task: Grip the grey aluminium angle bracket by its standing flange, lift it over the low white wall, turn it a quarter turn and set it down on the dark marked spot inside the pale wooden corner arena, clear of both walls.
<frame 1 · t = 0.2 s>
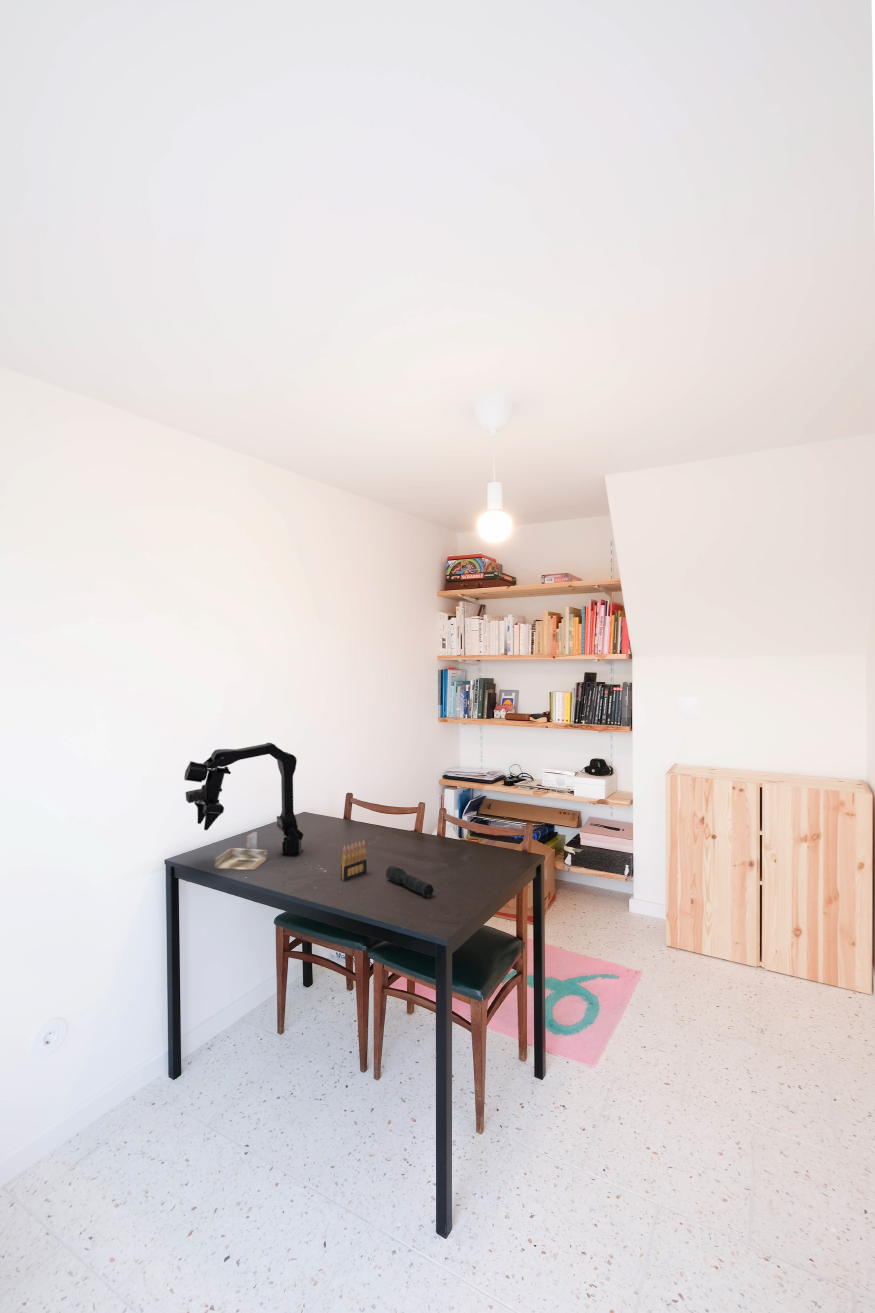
hand: (202, 826, 213), 15 cm above the table, tool pointing down, fingers open, 9 cm apart
corner arena: (241, 863, 219), on the table
ammunition clip: (353, 877, 208), on the table
bracket: (245, 854, 229), on the table
flashlight: (409, 889, 198), on the table
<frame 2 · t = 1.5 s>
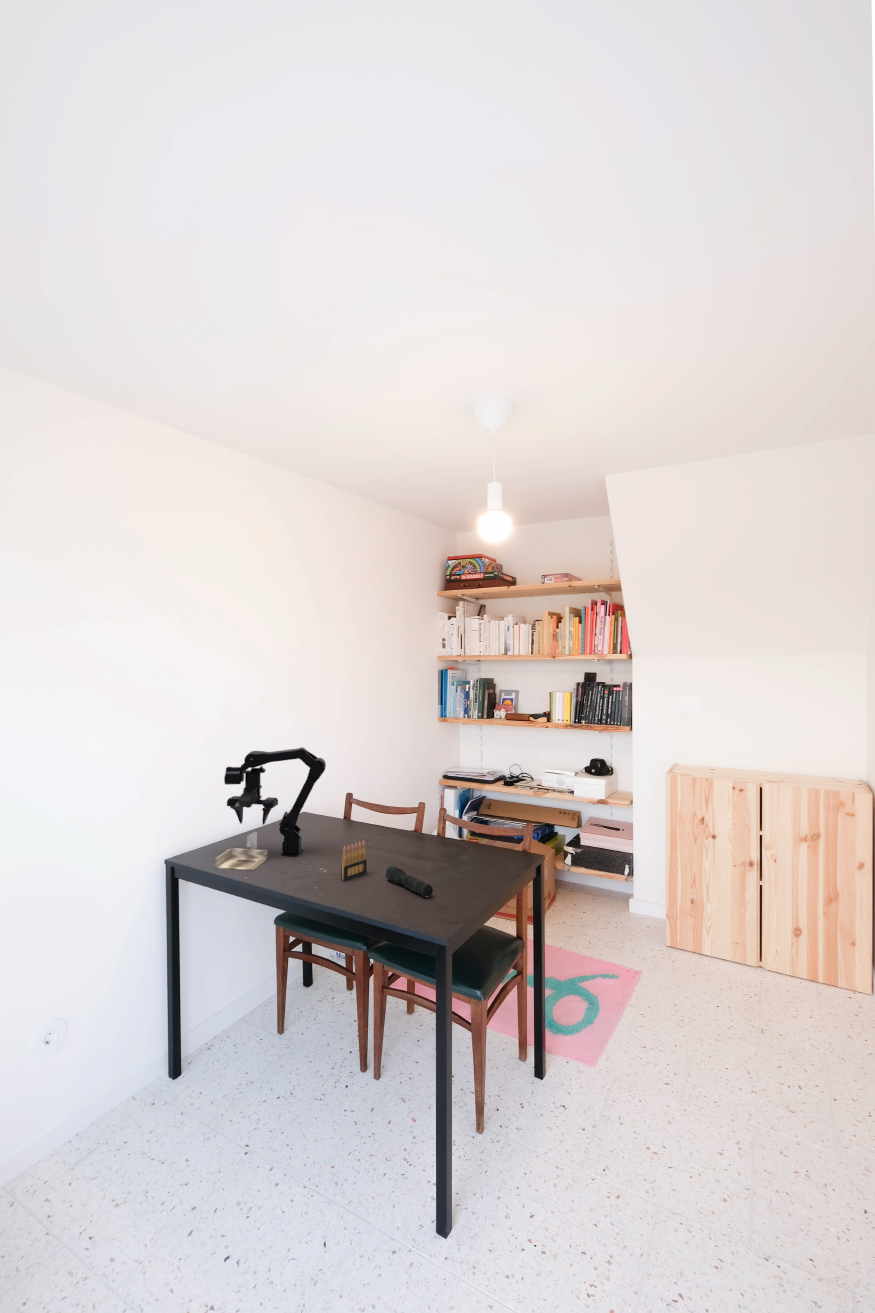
hand: (252, 824, 229), 12 cm above the table, tool pointing down, fingers open, 9 cm apart
nothing on the table moved.
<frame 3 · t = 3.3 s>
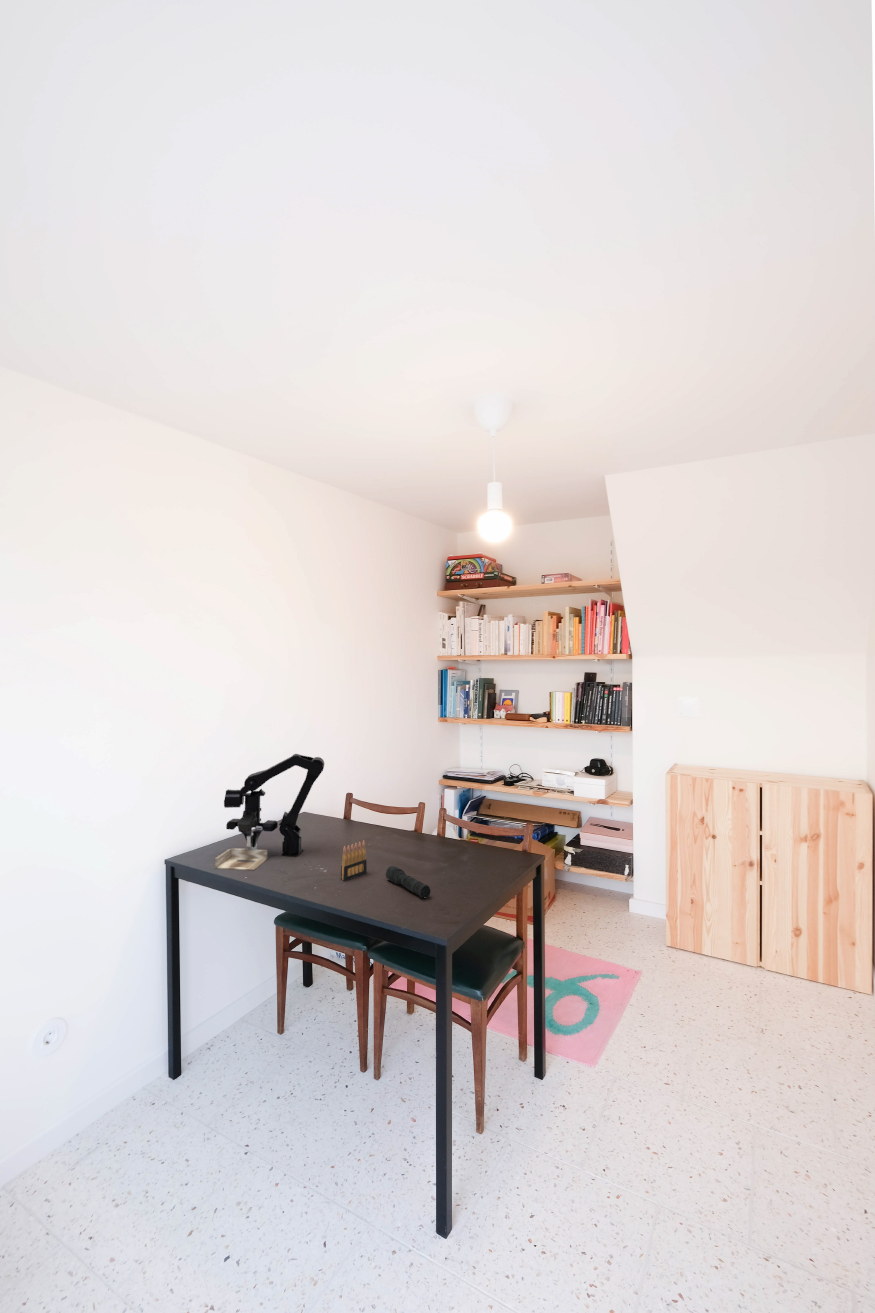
hand: (251, 847, 229), 3 cm above the table, tool pointing down, fingers closed on bracket
bracket: (245, 854, 229), on the table, touching gripper
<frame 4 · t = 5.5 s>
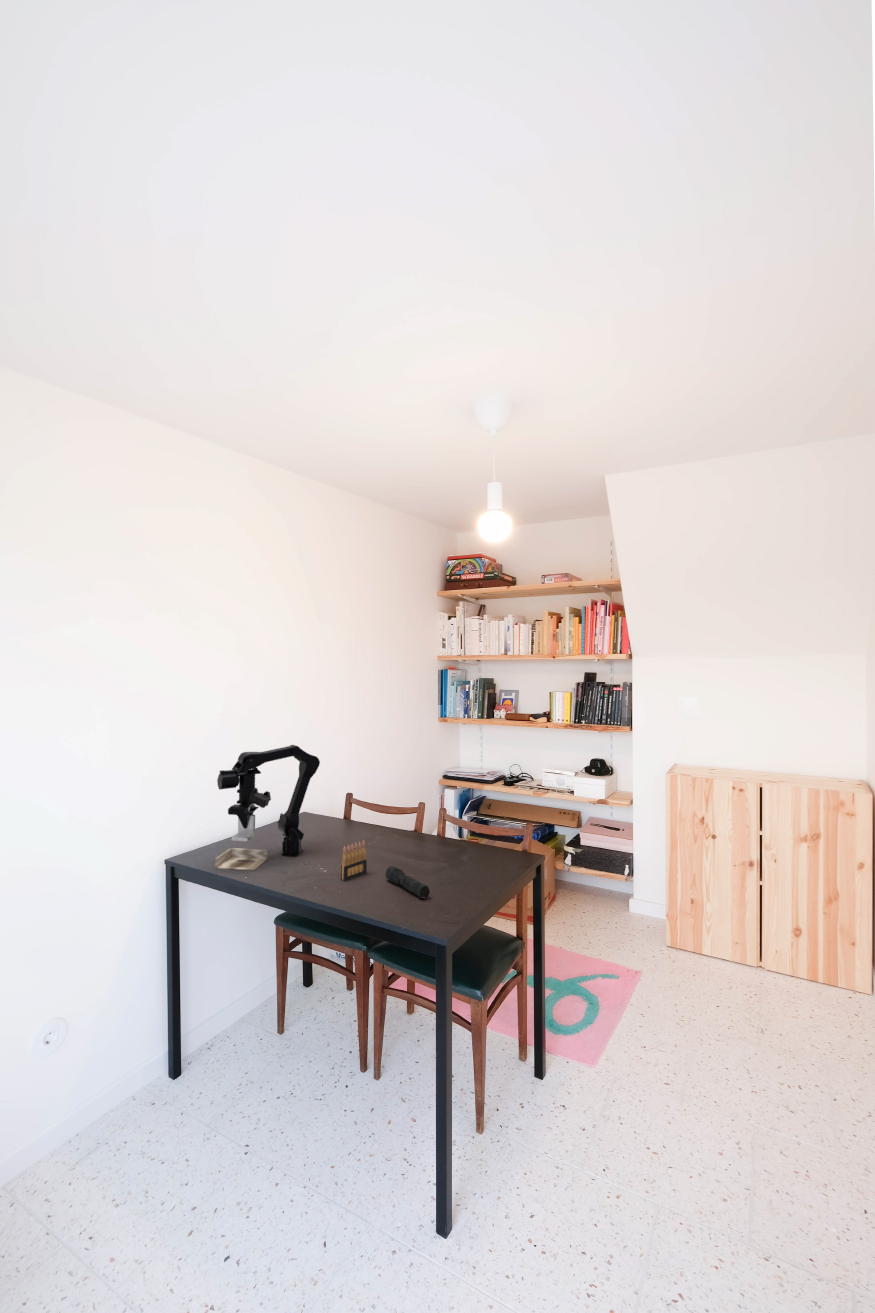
hand: (246, 827, 220), 13 cm above the table, tool pointing down, fingers closed on bracket
bracket: (243, 838, 218), point 10 cm above the table, touching gripper
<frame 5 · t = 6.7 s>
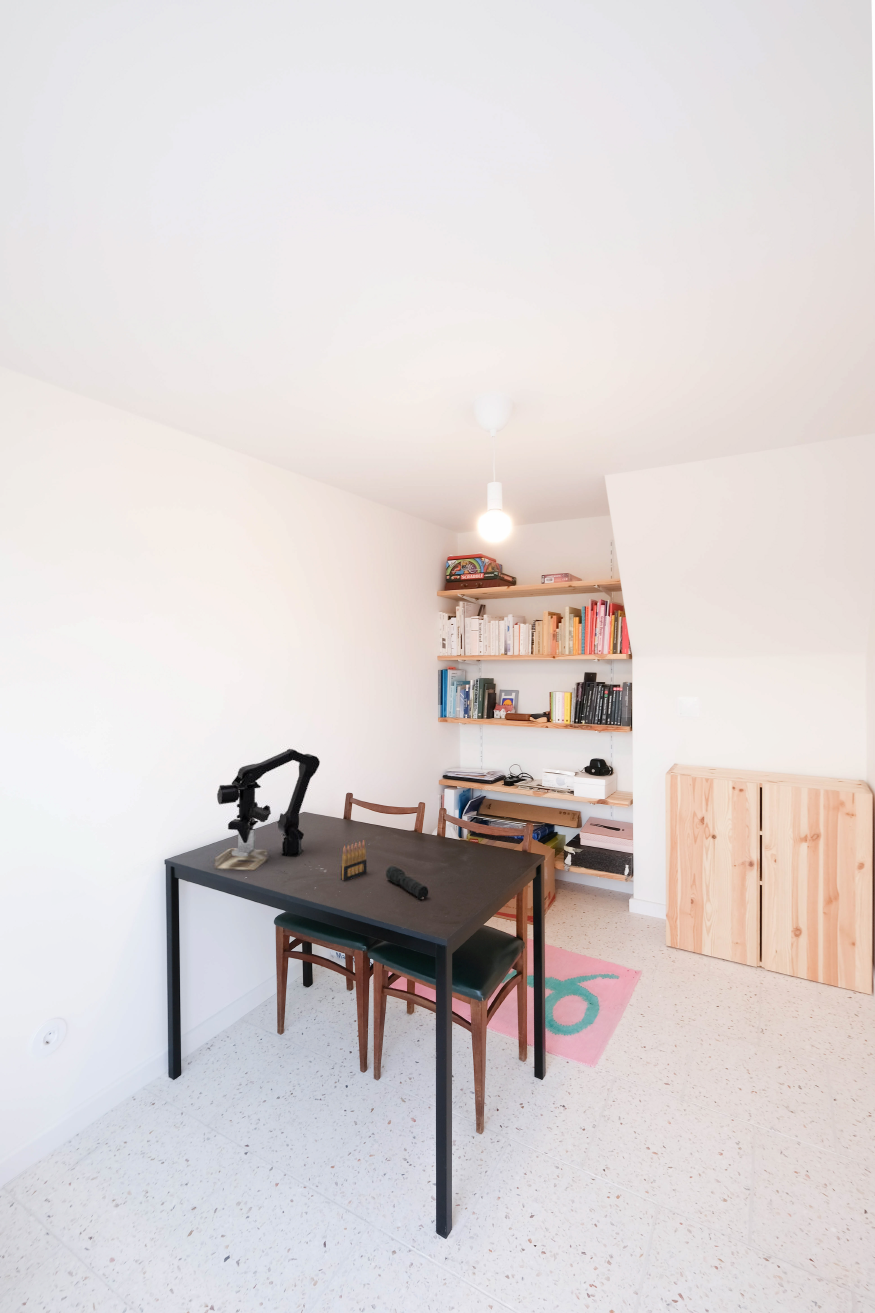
hand: (246, 842, 220), 8 cm above the table, tool pointing down, fingers closed on bracket
bracket: (243, 852, 218), point 4 cm above the table, touching gripper
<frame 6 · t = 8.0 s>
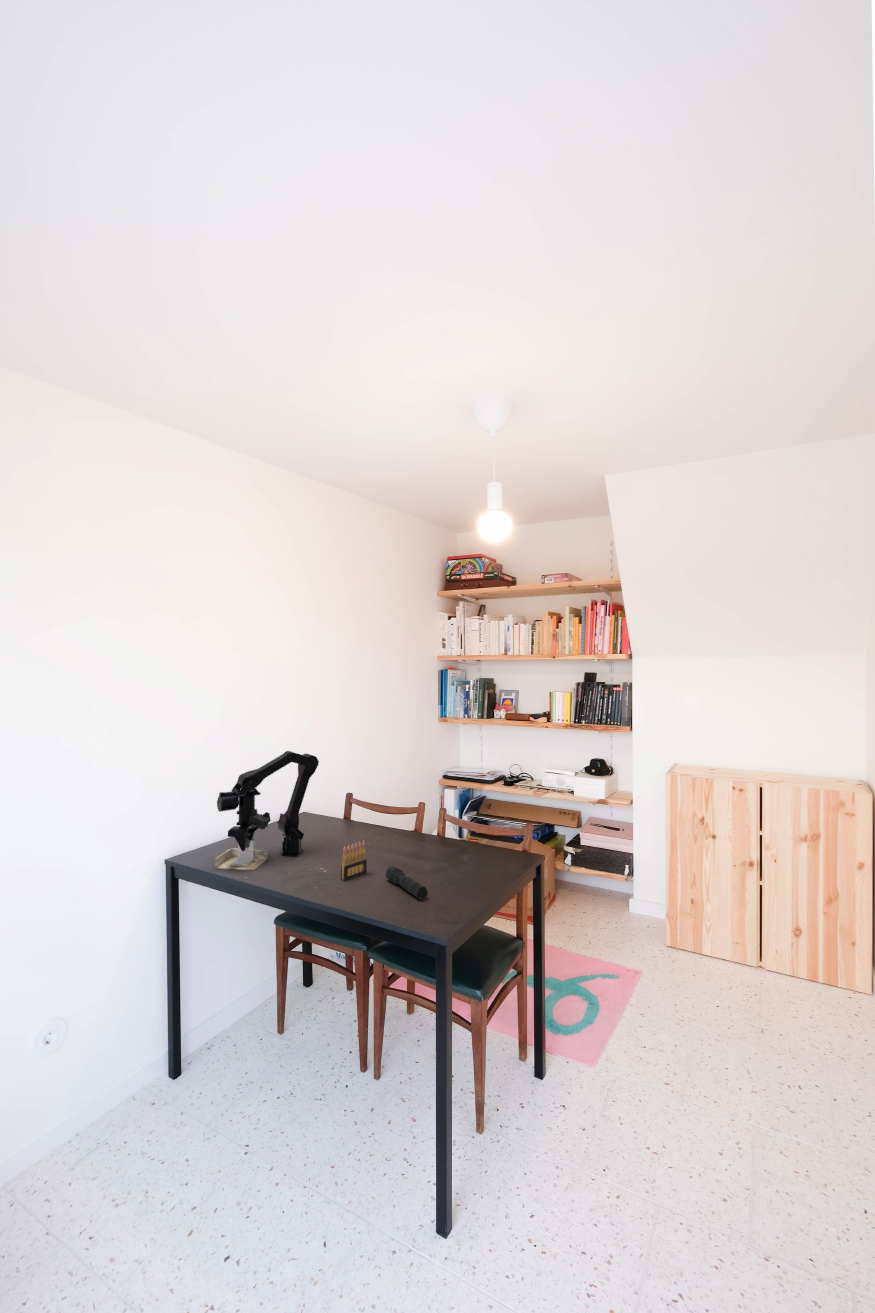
hand: (246, 849, 220), 5 cm above the table, tool pointing down, fingers open, 4 cm apart
bracket: (243, 863, 218), point 1 cm above the table, touching corner arena
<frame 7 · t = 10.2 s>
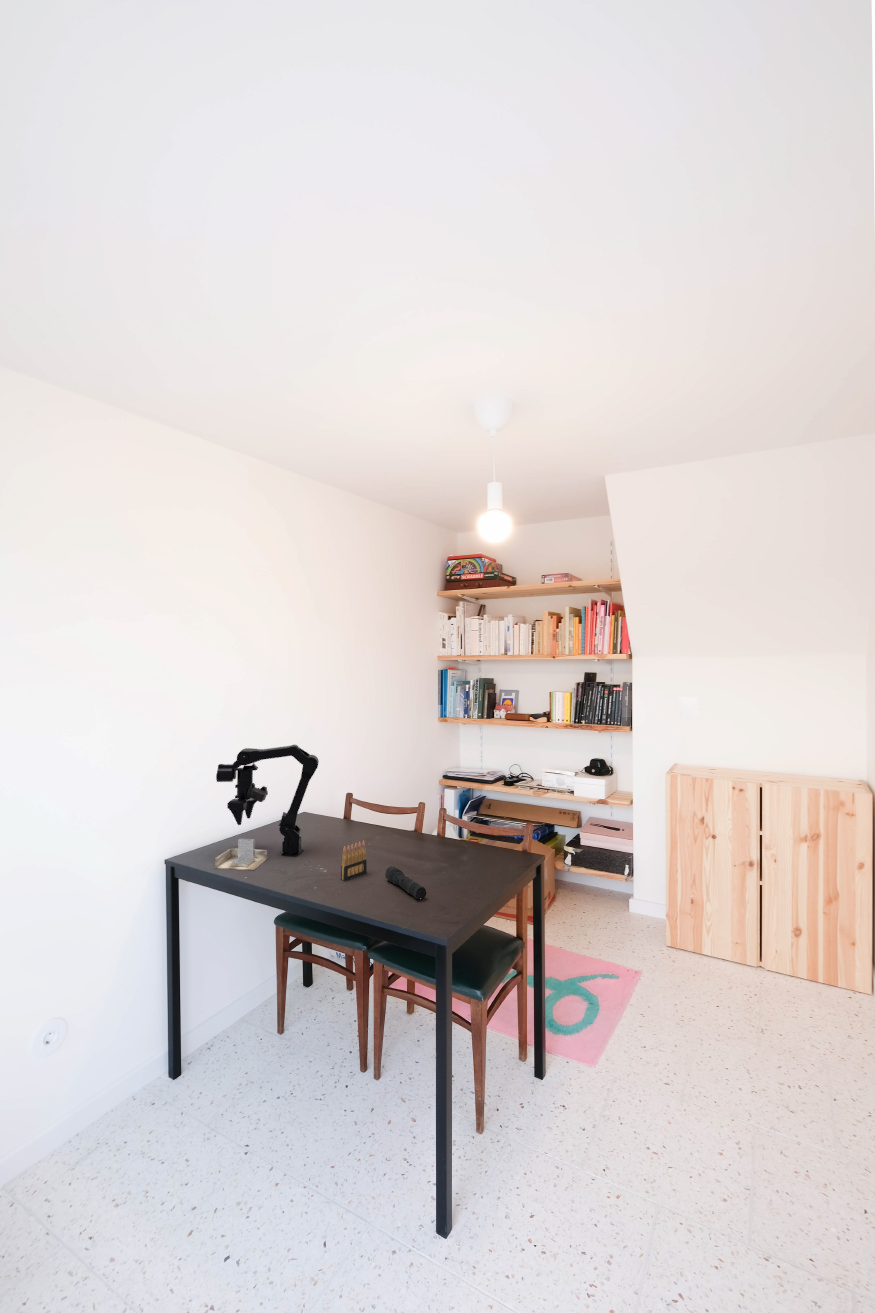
hand: (244, 821, 228), 13 cm above the table, tool pointing down, fingers open, 9 cm apart
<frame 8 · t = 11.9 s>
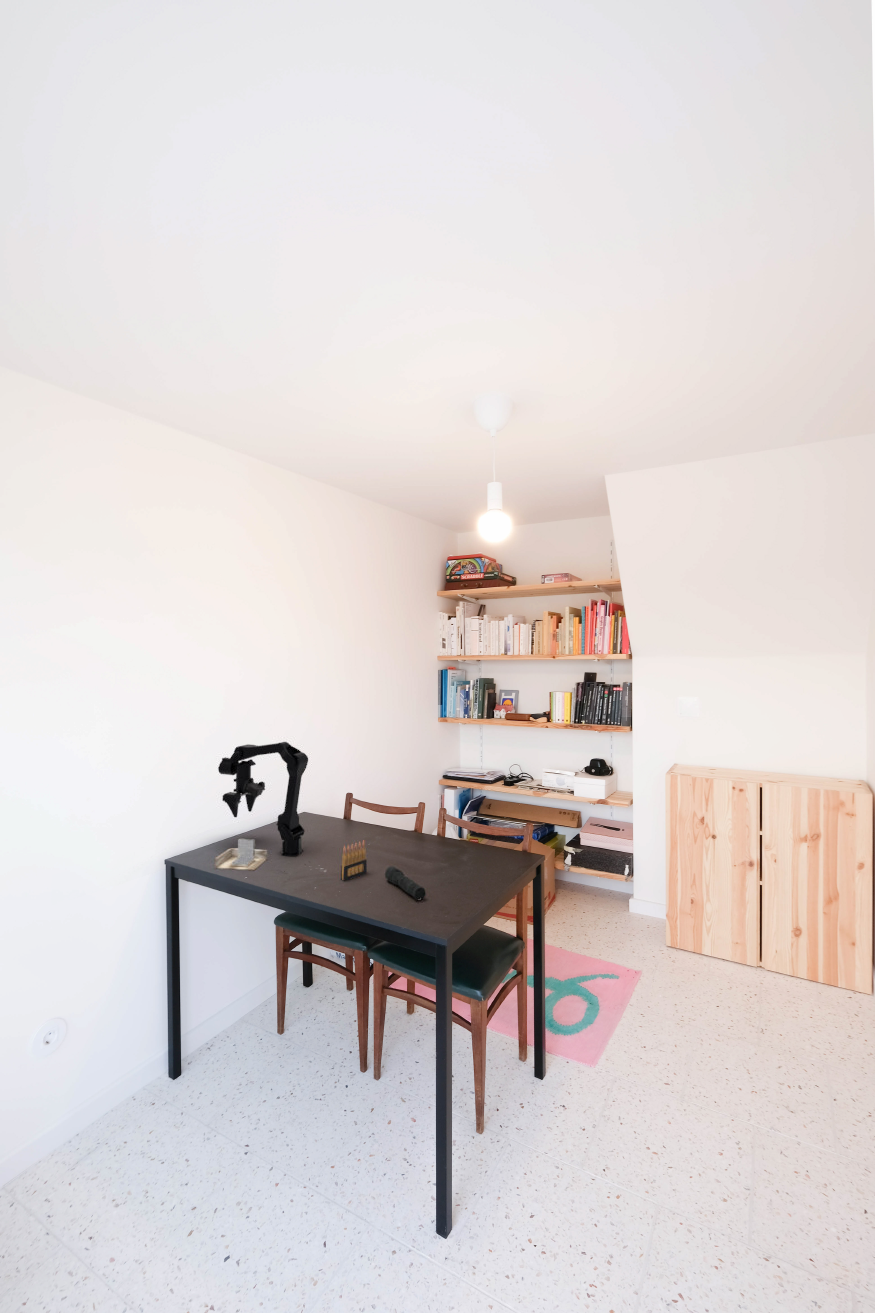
hand: (242, 814, 239), 13 cm above the table, tool pointing down, fingers open, 9 cm apart
at the end: bracket 0.1 cm from the target spot, point 0.5 cm above the table; bracket tilted 0°; the gripper is holding nothing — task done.
